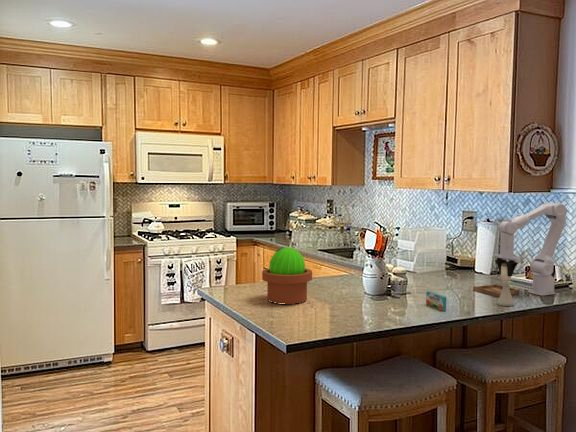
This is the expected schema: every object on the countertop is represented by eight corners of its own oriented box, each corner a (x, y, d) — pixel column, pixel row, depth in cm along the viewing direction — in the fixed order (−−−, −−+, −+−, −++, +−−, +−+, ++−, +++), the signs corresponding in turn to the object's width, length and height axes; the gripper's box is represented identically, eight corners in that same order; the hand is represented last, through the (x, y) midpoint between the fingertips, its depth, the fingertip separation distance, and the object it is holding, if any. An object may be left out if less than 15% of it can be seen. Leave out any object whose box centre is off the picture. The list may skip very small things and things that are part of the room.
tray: (496, 288, 259) (496, 284, 259) (519, 294, 246) (519, 290, 246) (473, 290, 254) (473, 286, 253) (495, 297, 240) (495, 292, 240)
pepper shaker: (505, 279, 246) (506, 262, 246) (512, 280, 242) (513, 263, 242) (498, 279, 245) (499, 263, 244) (505, 281, 241) (506, 264, 240)
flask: (516, 307, 222) (517, 284, 221) (498, 306, 223) (499, 283, 222) (512, 303, 229) (513, 280, 228) (495, 302, 230) (495, 280, 229)
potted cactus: (321, 300, 234) (321, 245, 232) (288, 309, 217) (288, 250, 216) (285, 292, 248) (285, 241, 247) (252, 301, 232) (252, 246, 230)
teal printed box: (426, 304, 226) (426, 291, 225) (428, 304, 226) (429, 290, 226) (443, 311, 214) (443, 297, 214) (446, 311, 215) (446, 296, 214)
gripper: (488, 245, 247) (487, 273, 249) (512, 249, 234) (511, 278, 235) (499, 244, 250) (498, 272, 251) (524, 248, 237) (523, 277, 238)
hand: (505, 275), depth 243 cm, fingers closed on pepper shaker, 4 cm apart
